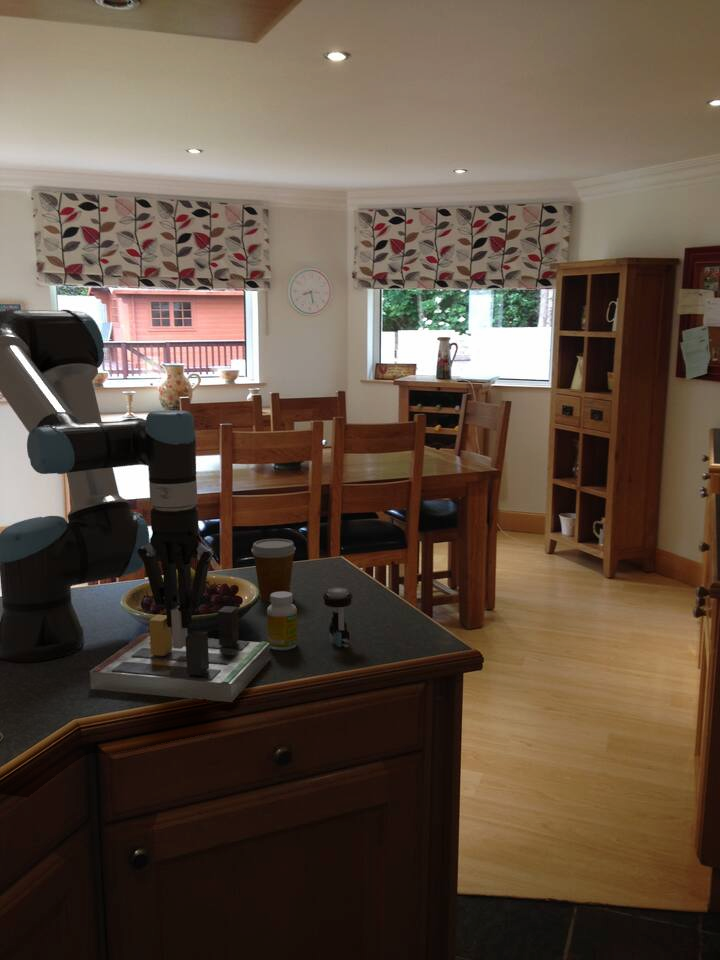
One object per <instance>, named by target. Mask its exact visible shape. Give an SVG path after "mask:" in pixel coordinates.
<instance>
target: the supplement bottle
mask: <svg viewBox="0 0 720 960" xmlns="http://www.w3.org/2000/svg"><path fill="white" fill-rule="evenodd" d="M269 602H270V604H269V606H267V609H266V621H267V622H266V625H267V631H266V632H267V643H270V650H271V649H272V650H273V651H289V650H292V649H295V648H296V647H297V645H298V609H297V607H296V604H293V593H292V592H291V591H290V592H285V591H281V592H274V593H272V594H271V595H270V601H269Z"/></svg>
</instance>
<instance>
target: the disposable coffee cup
mask: <svg viewBox="0 0 720 960" xmlns="http://www.w3.org/2000/svg"><path fill="white" fill-rule="evenodd" d="M250 550H251V553H252V555H253V559H254V566H255V572H256V578H257V584H258V586H257V587H258V591H259V590H260V592H259V595H260V594H261V598H260V599H261V600H263V601H265V600H266V601H267V602H271V601H270V595H271V594H272V593H274V592H281V591H285V592H290V593H291V583H292V582H291V581H292V571H293V565H294V564H293V562H294V555H295V551H296V550H297V549H296V546H295V544H294V542H293V540H290V539H284V538H266V539H261V540H257V541H255V542H253V544H252V548H251V549H250Z"/></svg>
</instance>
